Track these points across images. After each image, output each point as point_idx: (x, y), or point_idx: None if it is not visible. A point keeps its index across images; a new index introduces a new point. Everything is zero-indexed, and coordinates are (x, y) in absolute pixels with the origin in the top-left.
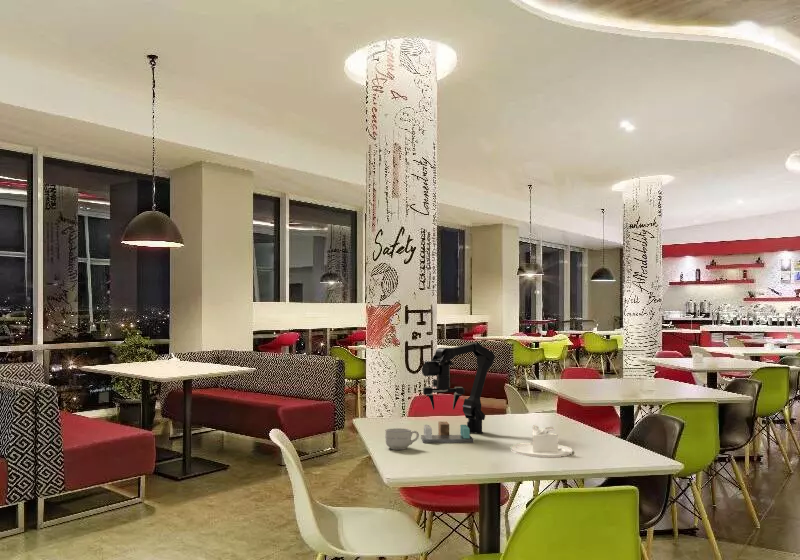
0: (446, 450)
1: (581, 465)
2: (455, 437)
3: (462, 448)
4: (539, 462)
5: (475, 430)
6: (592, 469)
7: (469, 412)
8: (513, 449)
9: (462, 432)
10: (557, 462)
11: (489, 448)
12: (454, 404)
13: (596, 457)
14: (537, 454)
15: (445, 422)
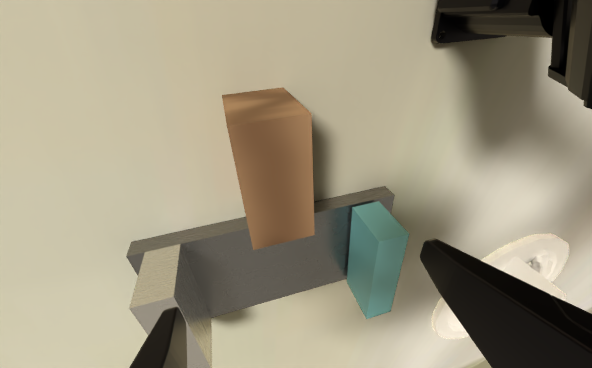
0: (270, 360)
1: None
2: (317, 260)
3: (319, 329)
4: (435, 359)
5: (480, 33)
6: (481, 359)
7: (586, 78)
8: (437, 322)
9: (357, 270)
10: (462, 349)
11: (393, 306)
12: (470, 324)
13: None
14: (458, 338)
15: (293, 166)
